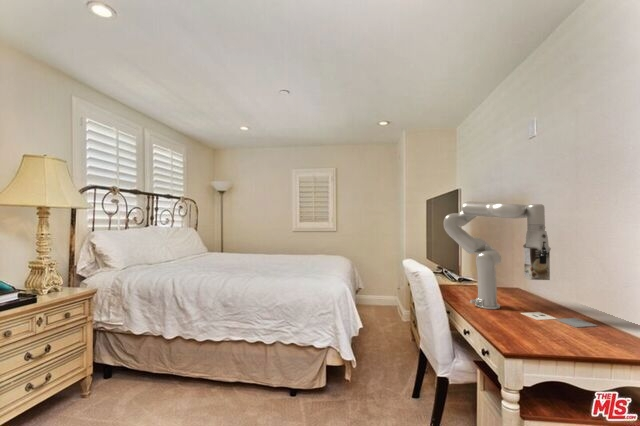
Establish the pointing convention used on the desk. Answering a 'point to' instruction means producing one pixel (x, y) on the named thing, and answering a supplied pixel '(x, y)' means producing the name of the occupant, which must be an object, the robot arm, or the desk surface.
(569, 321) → the mat
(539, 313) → the card
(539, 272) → the coffee box
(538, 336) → the desk surface
